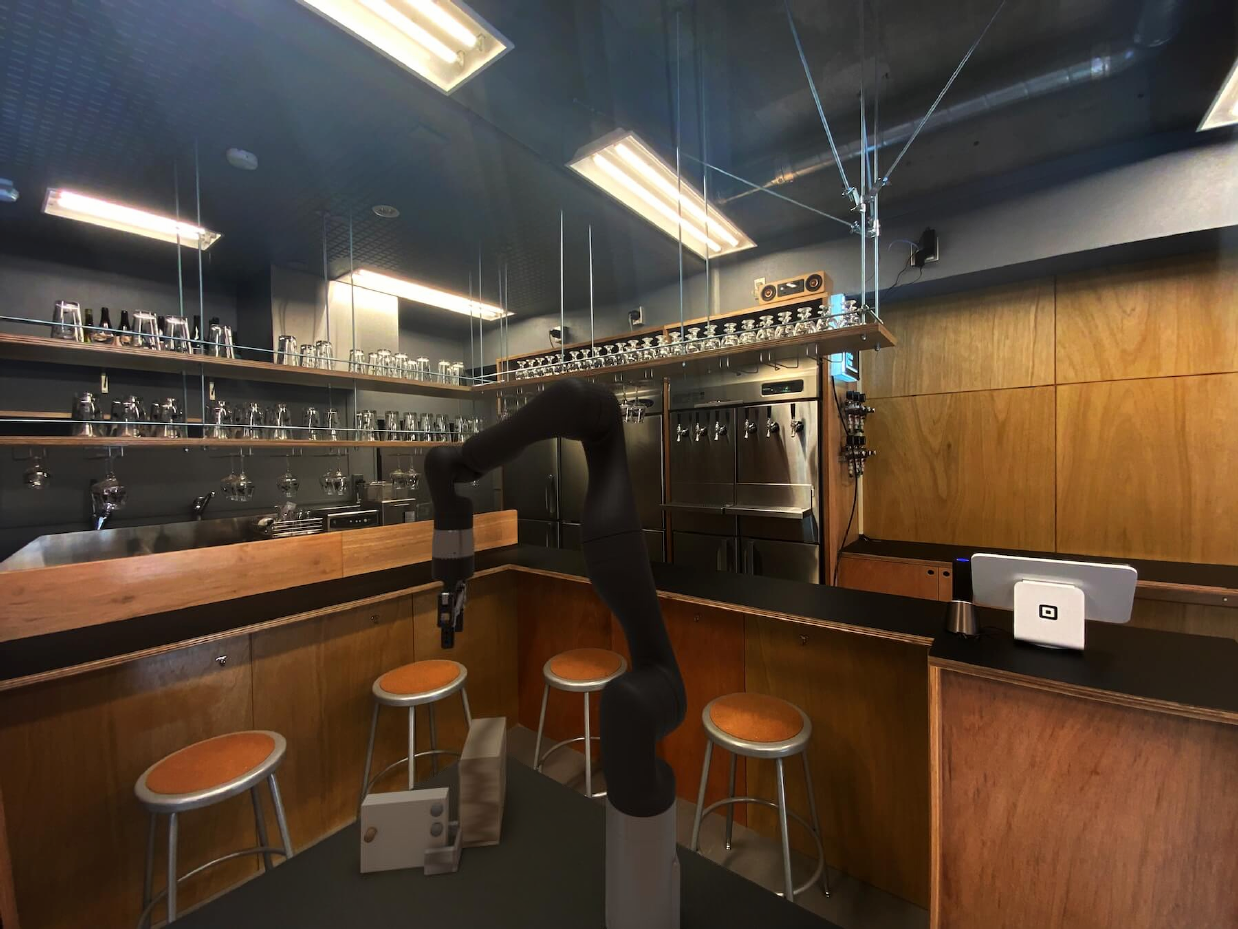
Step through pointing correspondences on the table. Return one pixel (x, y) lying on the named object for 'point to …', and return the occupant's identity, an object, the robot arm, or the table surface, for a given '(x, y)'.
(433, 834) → the door
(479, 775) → the cabinet
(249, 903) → the table surface
